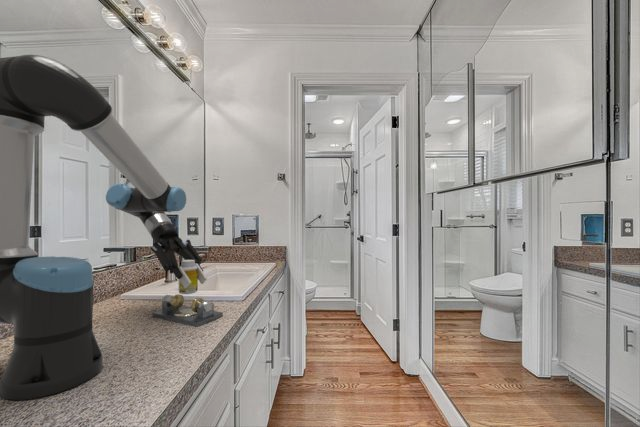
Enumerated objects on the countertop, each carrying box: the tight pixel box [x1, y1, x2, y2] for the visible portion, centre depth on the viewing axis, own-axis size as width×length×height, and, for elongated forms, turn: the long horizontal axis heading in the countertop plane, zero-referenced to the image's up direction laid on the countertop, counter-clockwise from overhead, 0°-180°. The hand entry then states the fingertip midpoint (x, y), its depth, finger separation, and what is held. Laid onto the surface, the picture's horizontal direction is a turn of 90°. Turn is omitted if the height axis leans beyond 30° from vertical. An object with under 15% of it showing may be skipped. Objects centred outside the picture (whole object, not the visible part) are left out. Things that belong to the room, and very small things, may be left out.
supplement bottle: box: [178, 259, 199, 295], centre depth 96 cm, size 6×6×10 cm
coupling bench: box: [151, 293, 224, 328], centre depth 96 cm, size 10×20×6 cm, turn 64°
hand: (196, 283), depth 95 cm, fingers closed on supplement bottle, 5 cm apart
